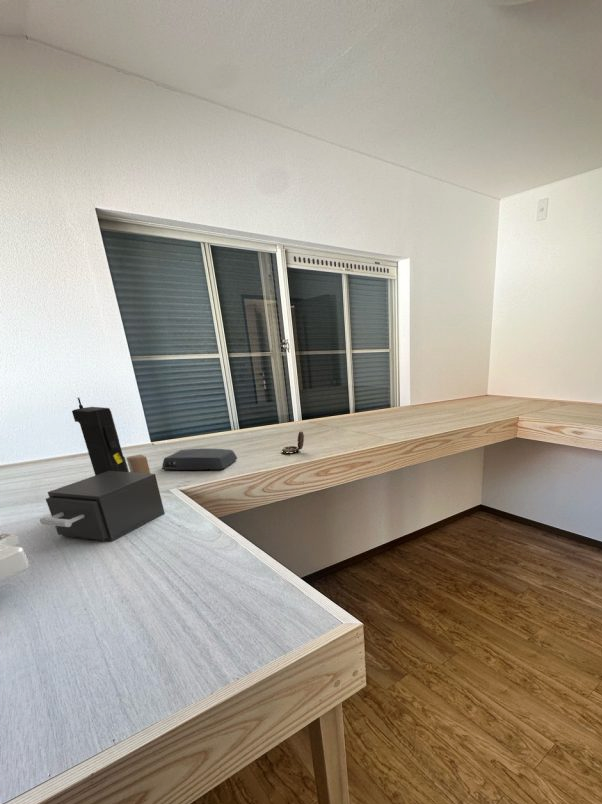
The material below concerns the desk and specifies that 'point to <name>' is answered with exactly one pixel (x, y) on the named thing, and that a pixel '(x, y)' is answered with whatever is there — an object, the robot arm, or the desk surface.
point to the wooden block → (138, 464)
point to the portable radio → (100, 439)
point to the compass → (294, 448)
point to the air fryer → (119, 499)
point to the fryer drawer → (76, 517)
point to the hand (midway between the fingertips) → (12, 537)
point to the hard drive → (199, 459)
